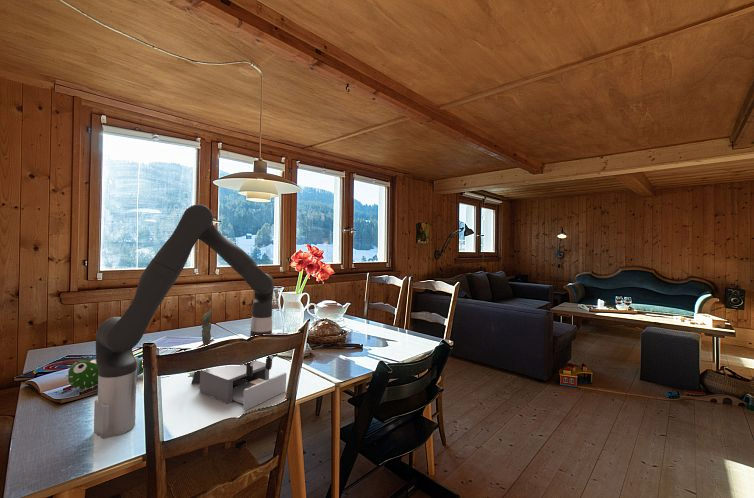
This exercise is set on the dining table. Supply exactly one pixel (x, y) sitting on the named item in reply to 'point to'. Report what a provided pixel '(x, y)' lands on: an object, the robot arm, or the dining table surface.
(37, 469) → the dining table surface
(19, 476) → the dining table surface
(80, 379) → the toy
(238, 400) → the grey drawer
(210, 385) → the grey drawer cabinet
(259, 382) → the walnut block
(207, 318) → the statue
